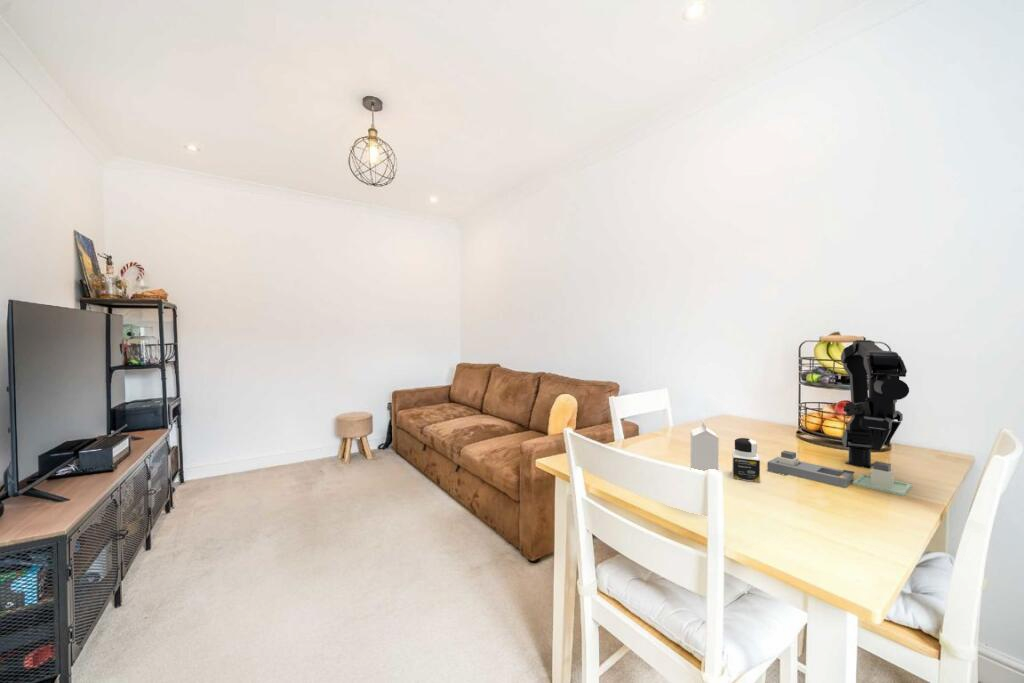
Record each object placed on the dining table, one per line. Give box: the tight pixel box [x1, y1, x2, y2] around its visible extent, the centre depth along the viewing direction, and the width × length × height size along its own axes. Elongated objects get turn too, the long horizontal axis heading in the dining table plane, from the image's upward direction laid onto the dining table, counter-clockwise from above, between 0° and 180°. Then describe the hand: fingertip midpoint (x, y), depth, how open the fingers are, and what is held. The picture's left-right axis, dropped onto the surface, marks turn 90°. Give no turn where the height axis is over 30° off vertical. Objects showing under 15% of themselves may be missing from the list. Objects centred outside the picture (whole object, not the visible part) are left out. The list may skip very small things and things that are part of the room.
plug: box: [870, 460, 894, 489], centre depth 115 cm, size 4×4×6 cm
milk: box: [690, 419, 720, 471], centre depth 104 cm, size 6×6×22 cm
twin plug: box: [778, 450, 799, 467], centre depth 129 cm, size 4×4×6 cm
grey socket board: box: [767, 456, 855, 489], centre depth 124 cm, size 9×20×3 cm, turn 37°
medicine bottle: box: [731, 437, 761, 483], centre depth 124 cm, size 7×7×12 cm
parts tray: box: [852, 473, 913, 497], centre depth 115 cm, size 11×11×1 cm
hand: (881, 447), depth 115 cm, fingers open, 9 cm apart
